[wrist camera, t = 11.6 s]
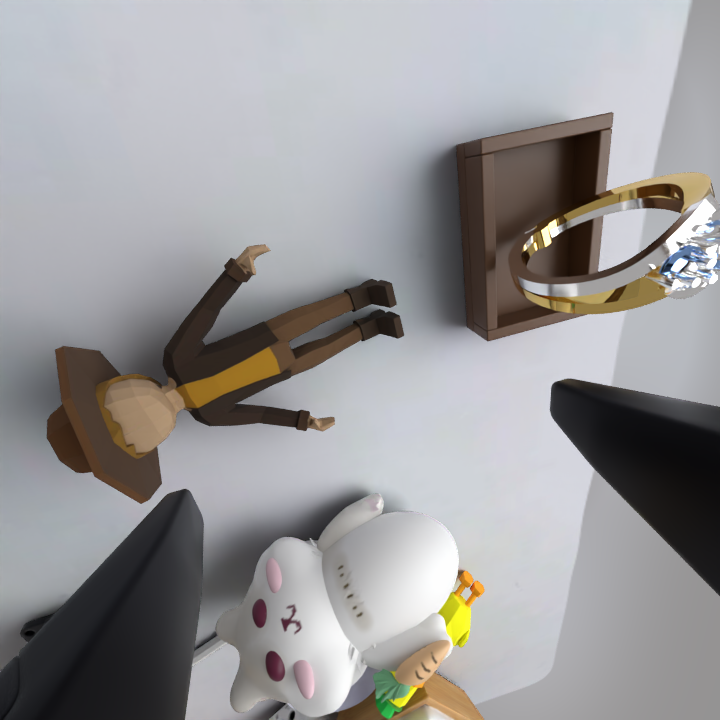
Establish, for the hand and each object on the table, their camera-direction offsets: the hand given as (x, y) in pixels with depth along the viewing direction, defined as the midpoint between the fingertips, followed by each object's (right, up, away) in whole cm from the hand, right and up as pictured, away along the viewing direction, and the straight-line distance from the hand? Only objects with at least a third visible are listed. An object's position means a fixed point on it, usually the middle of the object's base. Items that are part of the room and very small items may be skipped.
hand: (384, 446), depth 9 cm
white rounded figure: (-2, -10, +17) cm, 20 cm away
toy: (-6, +3, +10) cm, 12 cm away
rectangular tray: (+8, +9, +11) cm, 16 cm away
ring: (+8, +8, +10) cm, 15 cm away
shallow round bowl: (-3, -23, +23) cm, 32 cm away
